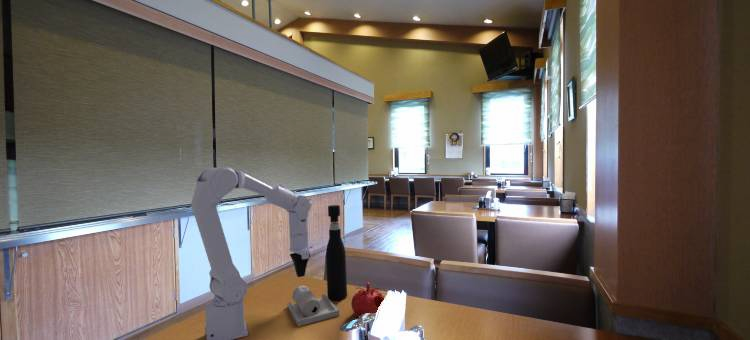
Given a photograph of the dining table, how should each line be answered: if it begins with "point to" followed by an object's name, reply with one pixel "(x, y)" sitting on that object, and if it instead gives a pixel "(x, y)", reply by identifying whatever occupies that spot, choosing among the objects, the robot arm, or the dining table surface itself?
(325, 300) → the tray
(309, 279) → the dining table surface
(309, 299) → the energy drink
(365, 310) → the pomegranate
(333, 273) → the black bottle
